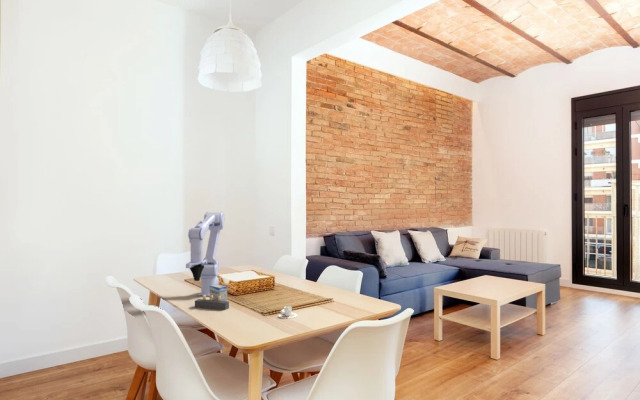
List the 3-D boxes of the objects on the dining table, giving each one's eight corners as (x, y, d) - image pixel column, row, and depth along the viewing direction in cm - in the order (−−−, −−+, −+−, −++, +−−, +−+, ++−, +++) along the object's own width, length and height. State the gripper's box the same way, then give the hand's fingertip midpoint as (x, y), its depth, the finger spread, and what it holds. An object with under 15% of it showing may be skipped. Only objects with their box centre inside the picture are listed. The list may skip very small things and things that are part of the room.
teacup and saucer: (280, 313, 169) (280, 303, 169) (298, 313, 169) (298, 303, 169) (277, 319, 160) (277, 309, 160) (296, 319, 160) (296, 309, 160)
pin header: (198, 305, 181) (198, 293, 180) (229, 307, 176) (228, 295, 176) (194, 307, 178) (194, 295, 178) (225, 309, 173) (225, 297, 173)
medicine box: (209, 303, 183) (209, 285, 183) (216, 301, 187) (216, 283, 187) (219, 306, 178) (219, 287, 178) (227, 304, 182) (227, 286, 182)
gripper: (194, 254, 178) (195, 284, 178) (212, 250, 192) (212, 278, 192) (181, 254, 180) (182, 283, 180) (200, 250, 194) (200, 277, 194)
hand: (196, 280), depth 186 cm, fingers closed
